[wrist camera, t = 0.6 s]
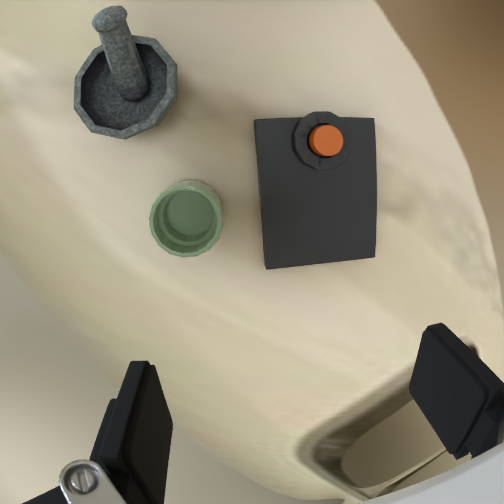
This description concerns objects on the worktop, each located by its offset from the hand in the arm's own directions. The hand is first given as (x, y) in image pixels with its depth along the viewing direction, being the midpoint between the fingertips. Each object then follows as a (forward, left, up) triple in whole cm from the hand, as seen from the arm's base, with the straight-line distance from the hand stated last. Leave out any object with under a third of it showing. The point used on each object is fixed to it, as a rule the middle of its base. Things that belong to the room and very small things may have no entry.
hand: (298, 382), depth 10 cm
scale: (-2, +8, -26) cm, 27 cm away
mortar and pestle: (-15, -10, -26) cm, 32 cm away
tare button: (-7, +8, -23) cm, 26 cm away
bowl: (-1, -6, -26) cm, 27 cm away
